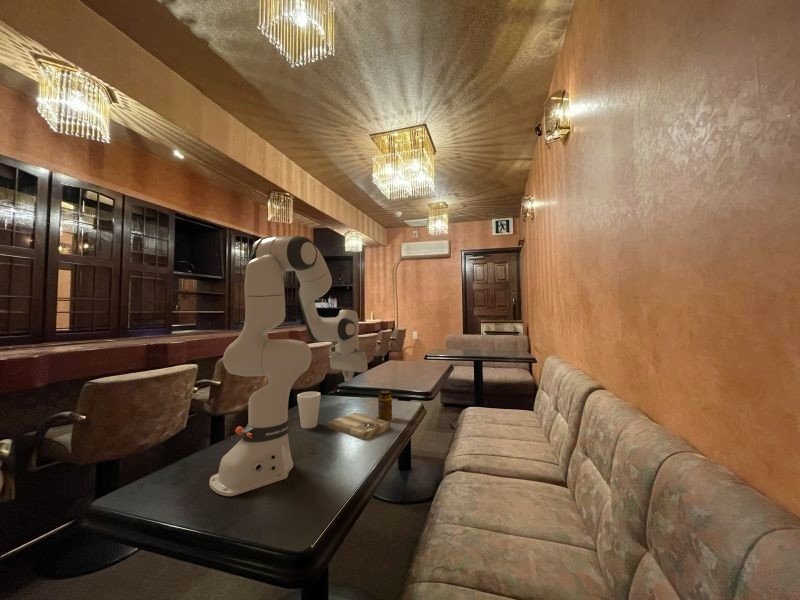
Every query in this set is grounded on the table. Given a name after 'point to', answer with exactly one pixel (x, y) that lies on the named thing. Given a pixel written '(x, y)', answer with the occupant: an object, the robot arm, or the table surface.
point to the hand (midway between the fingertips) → (348, 381)
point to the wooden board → (359, 425)
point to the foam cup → (309, 408)
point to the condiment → (385, 406)
